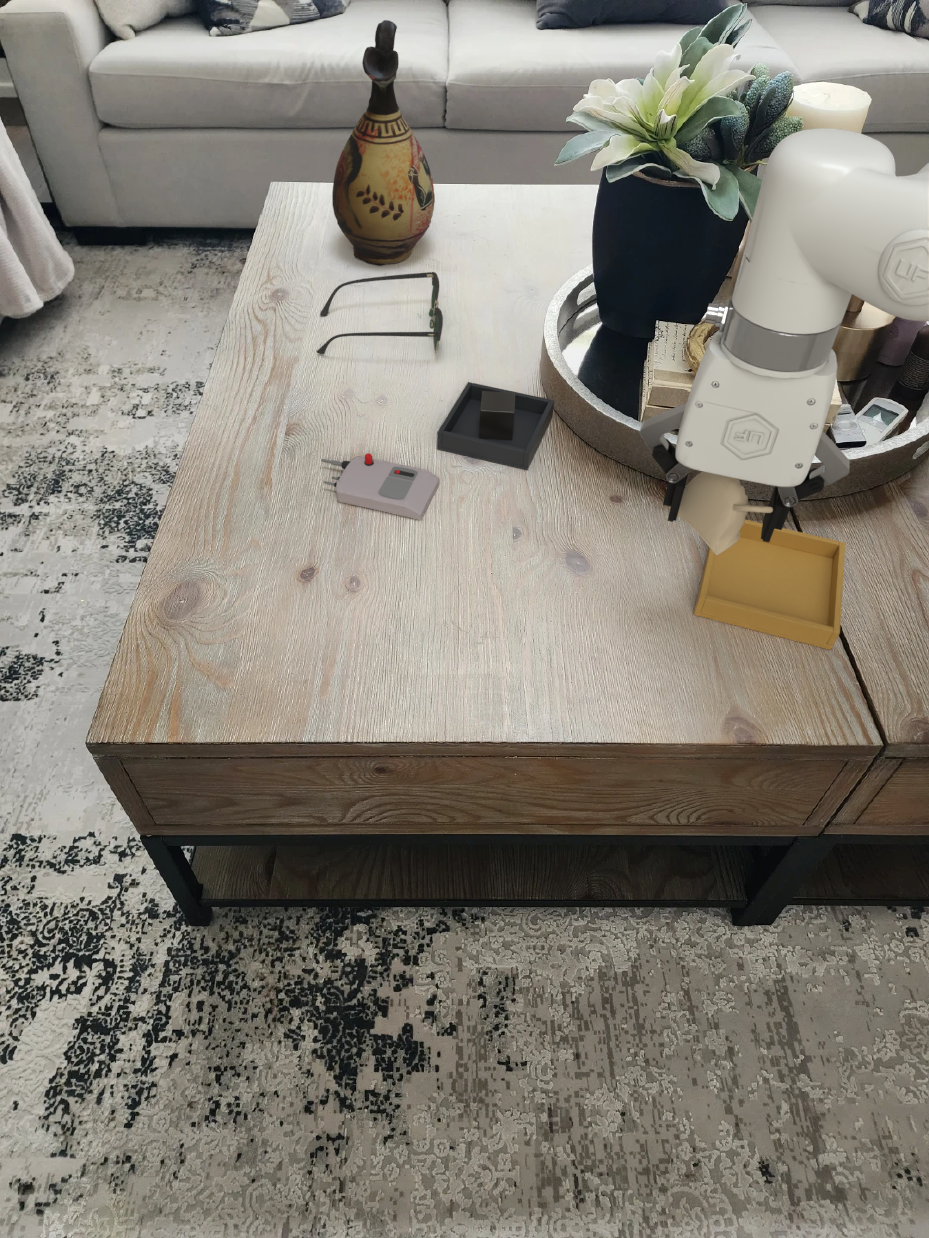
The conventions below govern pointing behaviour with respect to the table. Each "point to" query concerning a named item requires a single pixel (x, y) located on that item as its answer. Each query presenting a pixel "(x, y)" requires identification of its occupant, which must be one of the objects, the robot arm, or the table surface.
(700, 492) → the decorative ornament
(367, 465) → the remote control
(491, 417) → the black block
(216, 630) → the table surface
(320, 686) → the table surface
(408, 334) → the sunglasses
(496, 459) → the charcoal tray
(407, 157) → the ceramic jug
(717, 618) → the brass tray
